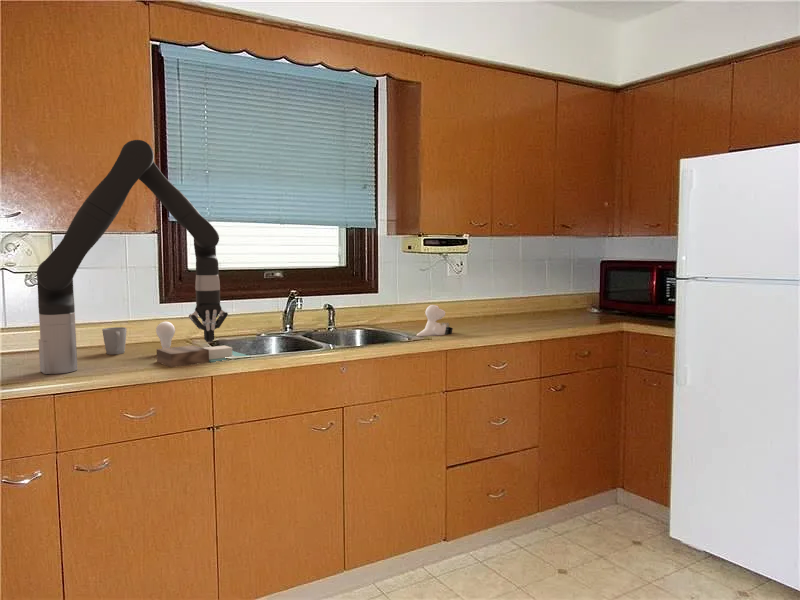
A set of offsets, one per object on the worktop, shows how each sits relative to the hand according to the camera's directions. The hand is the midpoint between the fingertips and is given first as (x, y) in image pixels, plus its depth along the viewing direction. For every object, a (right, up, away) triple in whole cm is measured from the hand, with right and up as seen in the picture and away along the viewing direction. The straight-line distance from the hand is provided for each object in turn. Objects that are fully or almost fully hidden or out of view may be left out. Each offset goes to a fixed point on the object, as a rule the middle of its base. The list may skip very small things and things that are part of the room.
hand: (209, 341), depth 206 cm
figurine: (+76, -1, +54) cm, 93 cm away
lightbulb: (-18, -5, +10) cm, 21 cm away
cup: (-35, -5, +10) cm, 37 cm away
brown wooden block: (-7, -6, -5) cm, 11 cm away
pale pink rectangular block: (+2, -5, +1) cm, 5 cm away
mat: (+3, -5, +3) cm, 7 cm away
